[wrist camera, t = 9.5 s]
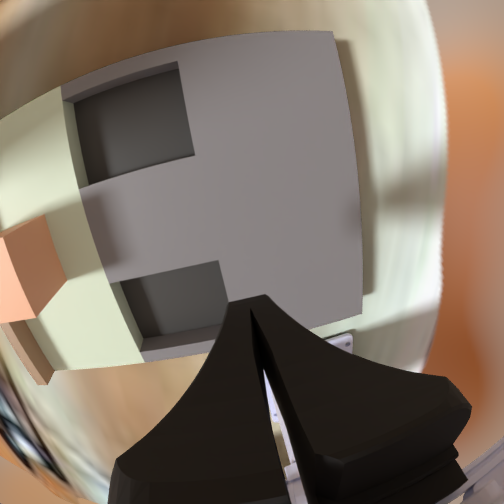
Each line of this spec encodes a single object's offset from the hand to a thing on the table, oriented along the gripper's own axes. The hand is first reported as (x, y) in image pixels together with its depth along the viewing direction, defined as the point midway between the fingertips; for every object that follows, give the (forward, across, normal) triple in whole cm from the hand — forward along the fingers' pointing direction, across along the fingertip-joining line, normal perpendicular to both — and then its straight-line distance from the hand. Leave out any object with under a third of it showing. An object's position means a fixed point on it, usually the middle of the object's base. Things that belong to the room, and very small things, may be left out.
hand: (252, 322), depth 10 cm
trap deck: (+9, +5, -2) cm, 11 cm away
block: (+7, +13, -3) cm, 15 cm away
